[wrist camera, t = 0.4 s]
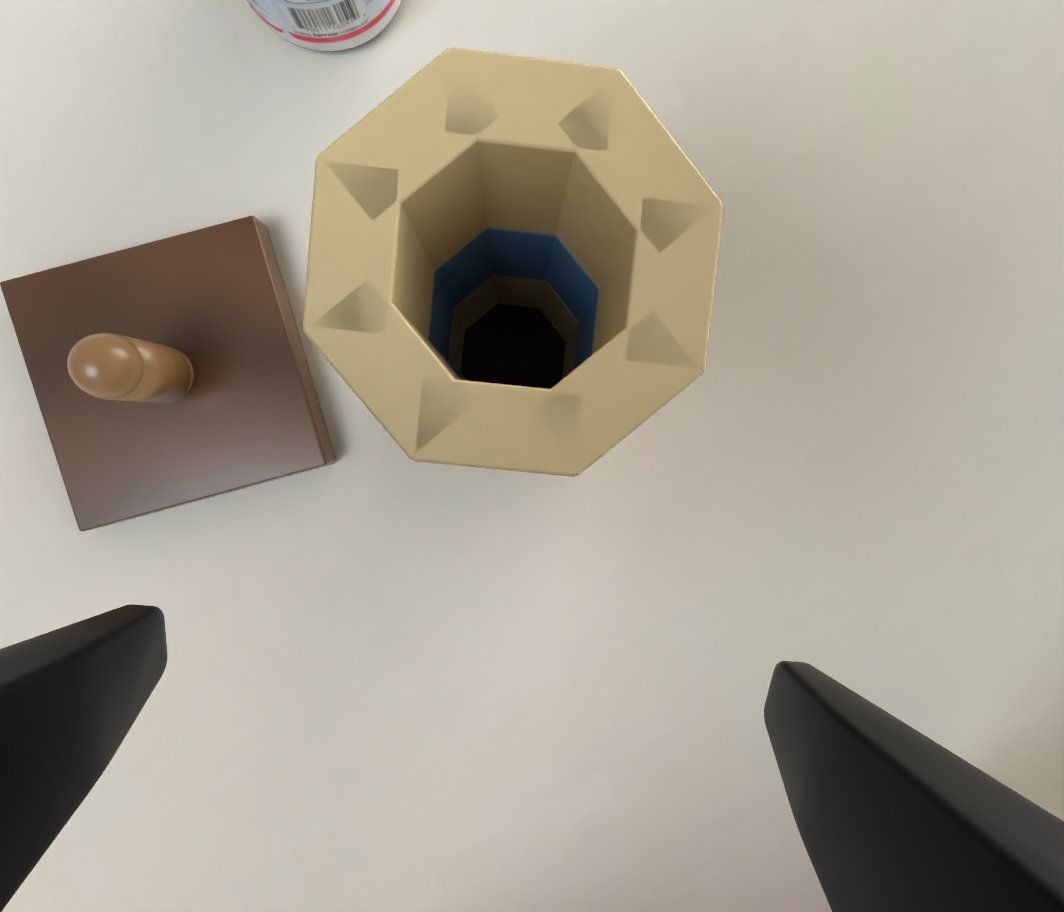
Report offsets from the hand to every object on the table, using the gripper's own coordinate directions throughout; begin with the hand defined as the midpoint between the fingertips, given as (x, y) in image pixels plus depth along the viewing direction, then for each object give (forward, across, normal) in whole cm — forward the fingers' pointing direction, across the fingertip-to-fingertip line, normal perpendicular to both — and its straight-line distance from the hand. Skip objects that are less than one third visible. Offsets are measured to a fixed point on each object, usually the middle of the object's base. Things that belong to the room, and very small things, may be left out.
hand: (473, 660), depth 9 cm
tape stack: (+15, 0, -3) cm, 15 cm away
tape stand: (+14, +12, -1) cm, 19 cm away
